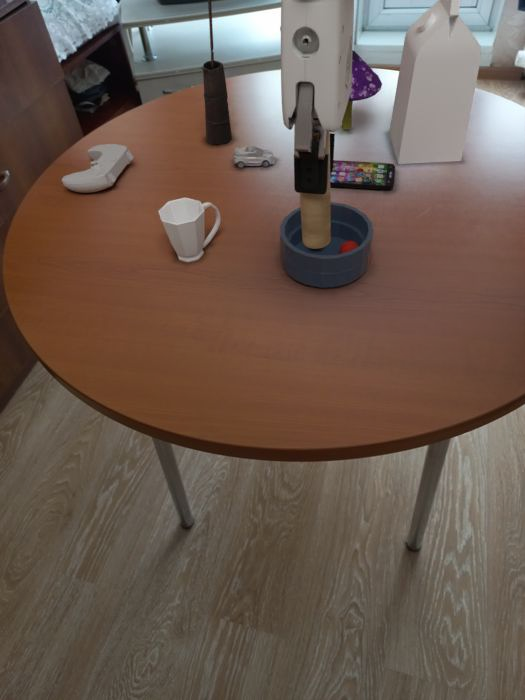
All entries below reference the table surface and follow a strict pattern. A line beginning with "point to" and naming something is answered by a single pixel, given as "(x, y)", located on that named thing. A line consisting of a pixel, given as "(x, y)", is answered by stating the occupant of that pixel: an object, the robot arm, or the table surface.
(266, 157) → the toy car
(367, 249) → the bowl
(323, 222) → the stick
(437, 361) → the table surface
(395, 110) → the milk
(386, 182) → the smartphone
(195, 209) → the cup
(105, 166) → the game controller
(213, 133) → the butter churn
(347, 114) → the decorative mushroom
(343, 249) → the ball
